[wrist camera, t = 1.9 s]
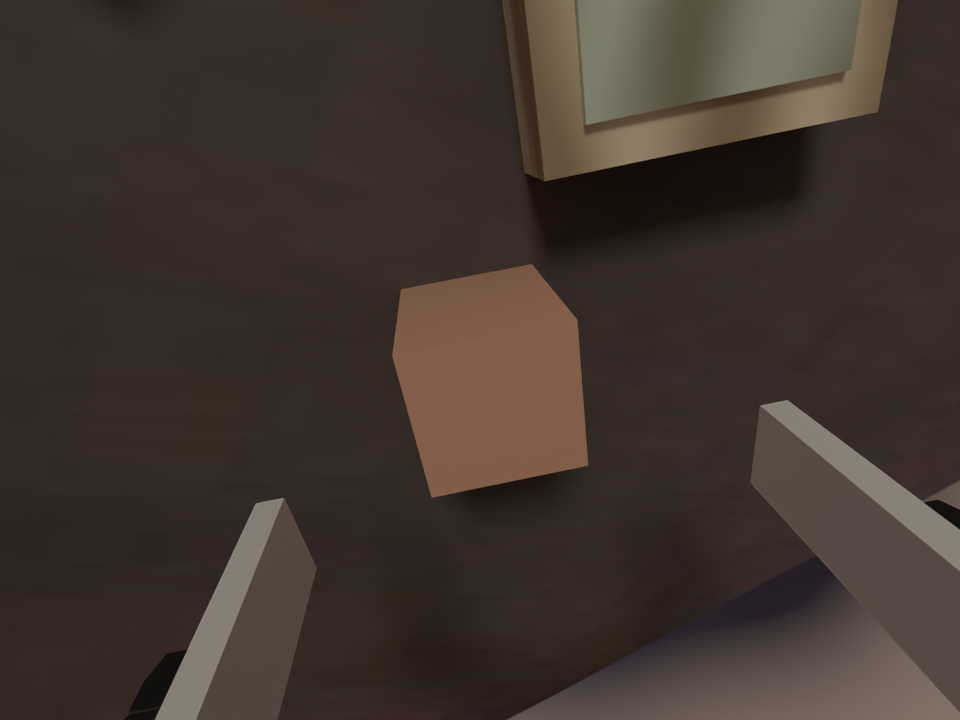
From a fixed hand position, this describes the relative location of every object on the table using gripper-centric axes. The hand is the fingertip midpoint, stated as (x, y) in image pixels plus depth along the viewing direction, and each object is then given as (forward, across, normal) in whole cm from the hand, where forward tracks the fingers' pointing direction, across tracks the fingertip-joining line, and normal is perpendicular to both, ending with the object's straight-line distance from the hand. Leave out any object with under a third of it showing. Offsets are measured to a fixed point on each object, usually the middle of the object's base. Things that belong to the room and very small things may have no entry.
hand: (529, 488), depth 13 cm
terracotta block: (+11, 0, 0) cm, 11 cm away
